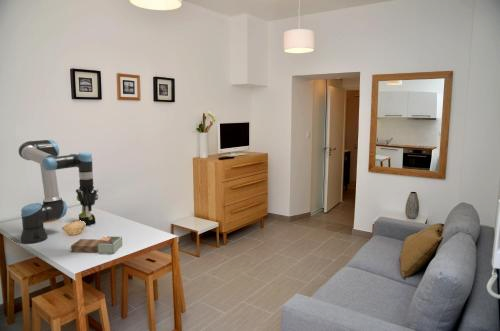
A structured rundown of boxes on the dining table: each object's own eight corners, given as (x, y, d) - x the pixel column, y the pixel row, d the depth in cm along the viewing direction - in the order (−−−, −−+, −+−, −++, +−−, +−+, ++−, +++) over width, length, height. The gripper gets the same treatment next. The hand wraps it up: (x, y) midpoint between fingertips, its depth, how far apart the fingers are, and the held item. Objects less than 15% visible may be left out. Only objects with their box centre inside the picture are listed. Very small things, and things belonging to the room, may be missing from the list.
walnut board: (71, 252, 216) (71, 245, 215) (80, 245, 227) (80, 239, 226) (98, 252, 215) (98, 246, 214) (107, 245, 226) (106, 239, 225)
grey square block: (111, 241, 217) (115, 245, 217) (115, 238, 222) (118, 242, 222) (105, 246, 217) (109, 250, 218) (109, 243, 222) (112, 247, 223)
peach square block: (99, 244, 217) (99, 239, 217) (103, 241, 222) (103, 236, 222) (107, 245, 217) (107, 240, 217) (111, 242, 222) (111, 237, 222)
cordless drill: (104, 226, 262) (102, 193, 258) (95, 228, 257) (93, 195, 253) (85, 220, 275) (83, 188, 271) (77, 223, 269) (75, 190, 265)
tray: (98, 253, 214) (97, 244, 213) (108, 245, 227) (107, 236, 226) (113, 253, 214) (113, 244, 213) (122, 245, 227) (121, 236, 226)
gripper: (72, 179, 210) (74, 217, 214) (93, 180, 210) (95, 218, 214) (78, 176, 218) (81, 213, 222) (99, 177, 217) (101, 214, 221)
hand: (88, 216), depth 218 cm, fingers closed
